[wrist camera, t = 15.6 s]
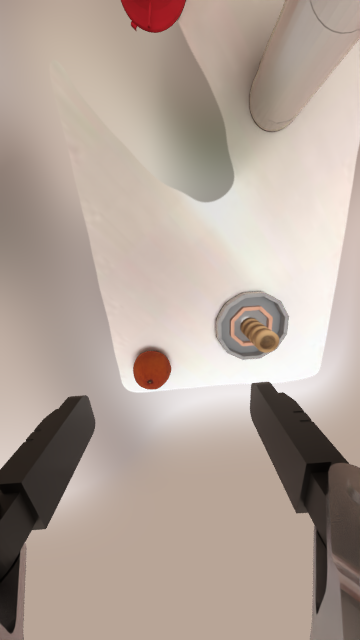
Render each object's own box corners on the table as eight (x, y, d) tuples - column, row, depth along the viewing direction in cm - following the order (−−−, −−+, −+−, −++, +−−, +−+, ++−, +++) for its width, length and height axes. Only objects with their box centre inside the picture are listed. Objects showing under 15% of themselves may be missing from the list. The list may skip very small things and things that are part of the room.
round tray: (215, 294, 40) (217, 296, 38) (285, 288, 40) (291, 290, 38) (216, 356, 45) (218, 361, 43) (278, 351, 45) (284, 356, 43)
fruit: (170, 376, 47) (169, 398, 39) (137, 375, 47) (129, 397, 39) (172, 346, 44) (171, 363, 37) (136, 344, 44) (128, 362, 36)
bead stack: (240, 318, 42) (256, 332, 33) (259, 316, 42) (280, 330, 33) (239, 335, 43) (255, 353, 34) (258, 334, 43) (278, 351, 34)
